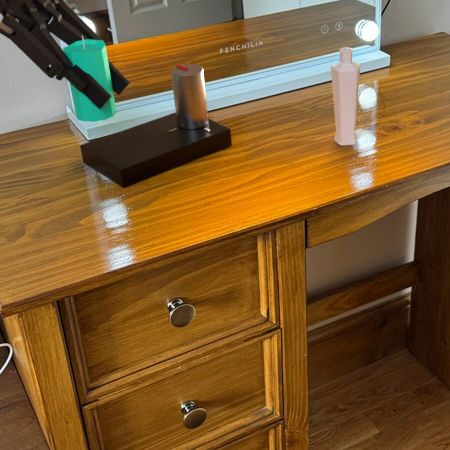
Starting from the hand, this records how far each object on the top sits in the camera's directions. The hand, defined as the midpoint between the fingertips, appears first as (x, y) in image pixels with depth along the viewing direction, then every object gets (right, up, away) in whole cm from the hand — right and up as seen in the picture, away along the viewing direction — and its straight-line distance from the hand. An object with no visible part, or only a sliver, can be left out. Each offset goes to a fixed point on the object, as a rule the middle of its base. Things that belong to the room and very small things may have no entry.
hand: (114, 95), depth 112 cm
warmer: (+5, -8, +8) cm, 12 cm away
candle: (-3, -2, +3) cm, 5 cm away
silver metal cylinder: (+10, -3, +11) cm, 15 cm away
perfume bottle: (+35, -6, +10) cm, 37 cm away
